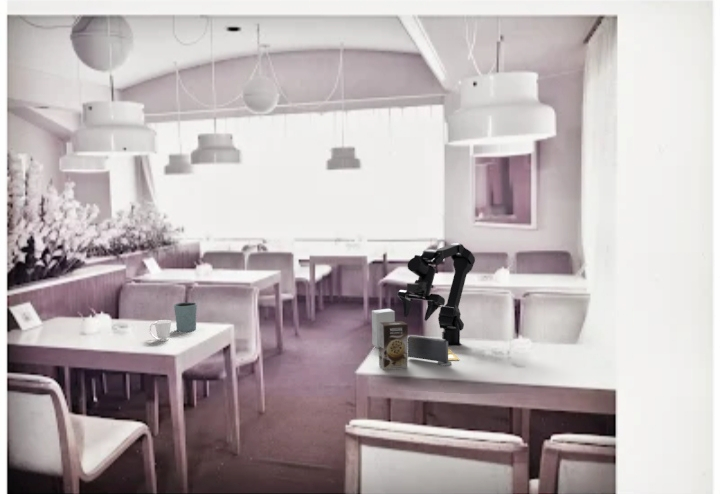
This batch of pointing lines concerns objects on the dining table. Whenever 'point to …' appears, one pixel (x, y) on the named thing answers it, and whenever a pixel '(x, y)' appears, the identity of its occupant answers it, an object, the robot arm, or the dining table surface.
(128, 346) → the dining table surface
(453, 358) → the left label plate
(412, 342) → the gray rectangular panel
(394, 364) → the cookie box
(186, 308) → the teal tapered pot
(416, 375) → the dining table surface
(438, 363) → the flange
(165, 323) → the cup
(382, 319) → the skincare box
